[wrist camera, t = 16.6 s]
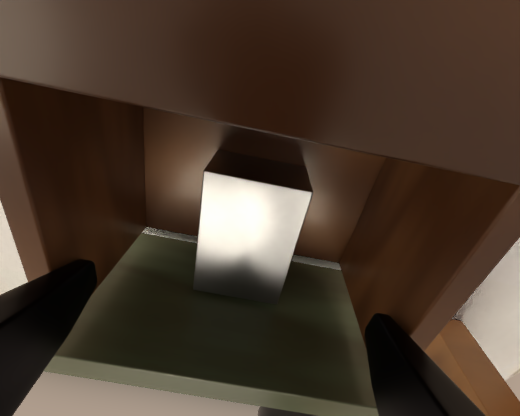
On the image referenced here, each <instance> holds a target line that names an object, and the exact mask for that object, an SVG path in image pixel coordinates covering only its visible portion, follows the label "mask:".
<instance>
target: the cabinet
mask: <svg viewBox="0 0 520 416" xmlns="http://www.w3.org/2000/svg"><path fill="white" fill-rule="evenodd" d="M0 77H1V78H6V79H11V80H16V81H20V82H25V83H30V84H35V85H40V86H44V87H49V88H54V89H59V90H64V91H68V92H73V93H78V94H83V95H88V96H92V97H97V98H102V99H107V100H112V101H116V102H121V103H126V104H131V105H136V106H140V107H145V108H150V109H155V110H160V111H165V112H169V113H174V114H179V115H184V116H189V117H193V118H198V119H203V120H208V121H213V122H217V123H222V124H227V125H232V126H237V127H241V128H246V129H251V130H256V131H261V132H265V133H270V134H275V135H280V136H285V137H289V138H294V139H299V140H304V141H309V142H313V143H318V144H323V145H328V146H333V147H338V148H342V149H347V150H352V151H357V152H362V153H366V154H371V155H376V156H381V157H386V158H390V159H395V160H400V161H405V162H410V163H414V164H419V165H424V166H429V167H434V168H438V169H443V170H448V171H453V172H458V173H462V174H467V175H472V176H477V177H482V178H487V179H491V180H496V181H501V182H506V183H511V184H515V185H520V0H0Z"/></svg>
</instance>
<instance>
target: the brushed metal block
mask: <svg viewBox="0 0 520 416" xmlns="http://www.w3.org/2000/svg"><path fill="white" fill-rule="evenodd" d="M312 195H313V189H312V186H311V182H310V179H309V175H308V172H307V168H306V167H303V166H298V165H293V164H288V163H283V162H278V161H273V160H268V159H263V158H258V157H253V156H248V155H243V154H238V153H233V152H228V151H223V150H217V152H216V153H215V155H214V156H213V158H212V159H211V161H210V162H209V163H208V165H207V166H206V168H205V169H204V171H203V182H202V193H201V205H200V216H199V227H198V239H197V250H196V261H195V272H194V284H193V290H198V291H203V292H209V293H215V294H220V295H226V296H232V297H237V298H243V299H248V300H254V301H260V302H265V303H271V304H278V300H279V297H280V294H281V291H282V288H283V285H284V282H285V279H286V276H287V273H288V270H289V266H290V263H291V260H292V257H293V254H294V251H295V248H296V245H297V242H298V239H299V235H300V232H301V229H302V226H303V223H304V220H305V217H306V214H307V211H308V208H309V205H310V201H311V198H312Z"/></svg>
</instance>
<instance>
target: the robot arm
mask: <svg viewBox="0 0 520 416" xmlns="http://www.w3.org/2000/svg"><path fill="white" fill-rule="evenodd" d="M96 285H97V273H96V267H95V263H94V262H93V261H91V260H86V259H77V260H75V261H73V262H71V263H69V264H66V265H64V266H62V267H60V268H58V269H56V270H53V271H51V272H49V273H47V274H45V275H43V276H40V277H38V278H36V279H34V280H32V281H29V282H27V283H25V284H23V285H21V286H19V287H16V288H14V289H12V290H10V291H8V292H6V293H3V294H1V295H0V416H12V415H13V414H14V413H15V411H16V410H17V408H18V407H19V406H20V404H21V403H22V401H23V400H24V398H25V397H26V395H27V394H28V393H29V391H30V390H31V388H32V387H33V385H34V384H35V383H36V381H37V380H38V378H39V377H40V375H41V374H42V372H43V371H44V370H45V368H46V367H47V365H48V364H49V363H50V361H51V360H52V358H53V357H54V355H55V354H56V353H57V351H58V350H59V348H60V347H61V345H62V344H63V343H64V341H65V340H66V338H67V337H68V335H69V334H70V332H71V330H72V328H73V327H74V325H75V323H76V322H77V320H78V318H79V316H80V314H81V313H82V311H83V309H84V307H85V306H86V304H87V302H88V300H89V298H90V297H91V295H92V293H93V291H94V289H95V288H96ZM365 342H366V350H367V357H368V364H369V371H370V378H371V384H372V389H373V394H374V398H375V402H376V407H377V411H378V415H379V416H486V415H485V414H484V413H483V412H482V411H481V410H480V409H479V408H478V407H477V406H476V405H475V404H474V403H473V402H472V401H471V400H470V399H469V397H468V396H467V395H466V394H465V393H464V392H463V391H462V390H461V389H460V388H459V387H458V386H457V385H456V384H455V383H454V382H453V381H452V380H451V379H450V378H449V377H448V376H447V375H446V374H445V373H444V371H443V370H442V369H441V368H440V367H439V366H438V365H437V364H436V363H435V362H434V361H433V360H432V359H431V358H430V357H429V356H428V355H427V354H426V353H425V352H424V351H423V350H422V349H421V348H420V346H419V345H418V344H417V343H416V342H415V341H414V340H413V339H412V338H411V337H410V336H409V335H408V334H407V333H406V332H405V331H404V330H403V329H402V328H401V327H400V326H399V325H398V324H397V323H396V322H395V320H394V319H393V318H392V317H391V316H389V315H387V314H383V313H375V314H374V315H373V316H372V318H371V320H370V321H369V323H368V325H367V326H366V328H365Z"/></svg>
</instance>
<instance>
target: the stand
mask: <svg viewBox="0 0 520 416" xmlns="http://www.w3.org/2000/svg"><path fill="white" fill-rule="evenodd" d="M424 352H425V353H426V354H427V355H428V356H429V357H430V358H431V359H432V360H433V361H434V362H435V363H436V364H437V365H438V366H439V367H440V368H441V369H442V370H443V371H444V373H445V374H446V375H447V376H448V377H449V378H450V379H451V380H452V381H453V382H454V383H455V384H456V385H457V386H458V387H459V388H460V389H461V390H462V391H463V392H464V393H465V394H466V395H467V396H468V397H469V399H470V400H471V401H472V402H473V403H474V404H475V405H476V406H477V407H478V408H479V409H480V410H481V411H482V412H483V413H484V414H485V415H486V416H520V401H519V400H518V399H517V397H516V396H515V395H514V393H513V392H512V390H511V389H510V388H509V386H508V385H507V383H506V382H505V381H504V379H503V378H502V376H501V375H500V374H499V372H498V371H497V369H496V368H495V367H494V365H493V364H492V362H491V361H490V360H489V358H488V357H487V355H486V354H485V353H484V351H483V350H482V349H481V347H480V346H479V344H478V343H477V342H476V340H475V339H474V337H473V336H472V335H471V333H470V332H469V330H468V329H467V328H466V326H465V325H464V323H463V322H462V321H459V320H453V319H451V320H450V321H449V322H448V323H447V325H446V326H445V327H444V328H443V329H442V331H441V332H440V333H439V334H438V335H437V336H436V338H435V339H434V340H433V341H432V342H431V344H430V345H429V346H428V347H427V348H426V350H425V351H424Z"/></svg>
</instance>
